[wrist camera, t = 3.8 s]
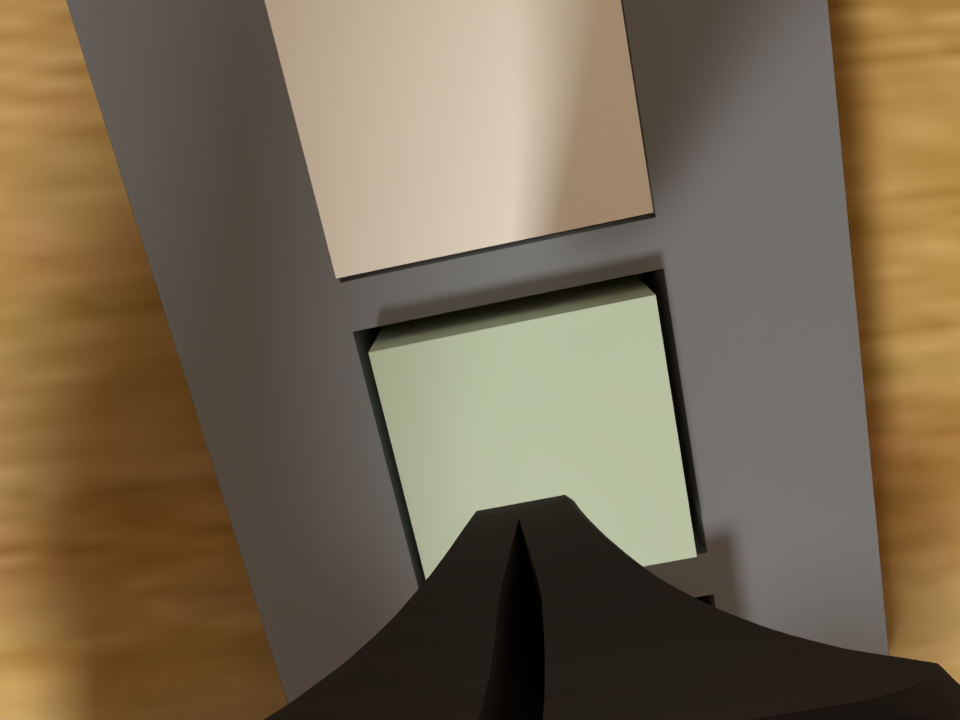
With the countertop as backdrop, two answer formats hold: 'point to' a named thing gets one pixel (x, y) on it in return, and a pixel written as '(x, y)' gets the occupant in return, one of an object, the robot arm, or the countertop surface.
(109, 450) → the countertop surface
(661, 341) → the sage button
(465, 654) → the robot arm
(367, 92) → the cream button
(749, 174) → the panel
